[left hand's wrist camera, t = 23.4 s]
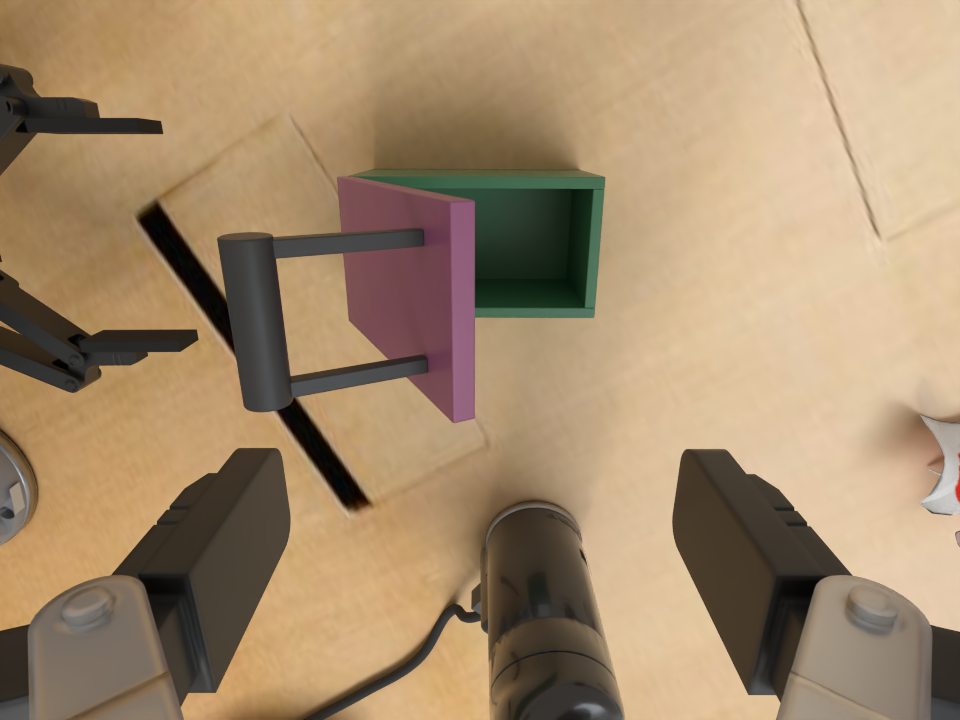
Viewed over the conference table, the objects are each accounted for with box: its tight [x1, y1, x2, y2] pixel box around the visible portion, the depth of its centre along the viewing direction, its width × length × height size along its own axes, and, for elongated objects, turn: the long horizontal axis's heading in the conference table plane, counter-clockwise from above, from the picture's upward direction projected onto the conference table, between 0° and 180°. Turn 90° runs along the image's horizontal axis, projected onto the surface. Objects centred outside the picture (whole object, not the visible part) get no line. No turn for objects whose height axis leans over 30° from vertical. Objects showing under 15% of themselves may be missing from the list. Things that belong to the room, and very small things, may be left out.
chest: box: [348, 169, 605, 318], centre depth 41 cm, size 16×9×9 cm, turn 90°
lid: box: [217, 177, 475, 423], centre depth 28 cm, size 17×9×9 cm
